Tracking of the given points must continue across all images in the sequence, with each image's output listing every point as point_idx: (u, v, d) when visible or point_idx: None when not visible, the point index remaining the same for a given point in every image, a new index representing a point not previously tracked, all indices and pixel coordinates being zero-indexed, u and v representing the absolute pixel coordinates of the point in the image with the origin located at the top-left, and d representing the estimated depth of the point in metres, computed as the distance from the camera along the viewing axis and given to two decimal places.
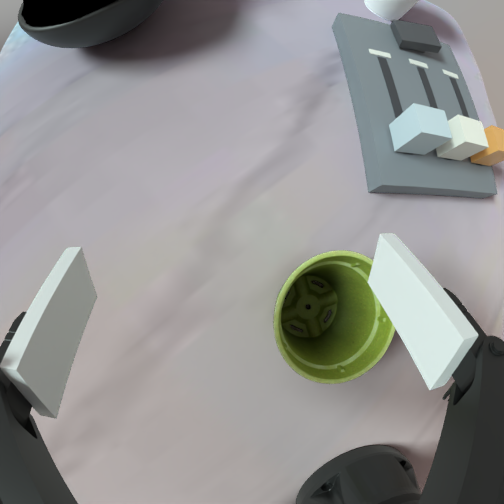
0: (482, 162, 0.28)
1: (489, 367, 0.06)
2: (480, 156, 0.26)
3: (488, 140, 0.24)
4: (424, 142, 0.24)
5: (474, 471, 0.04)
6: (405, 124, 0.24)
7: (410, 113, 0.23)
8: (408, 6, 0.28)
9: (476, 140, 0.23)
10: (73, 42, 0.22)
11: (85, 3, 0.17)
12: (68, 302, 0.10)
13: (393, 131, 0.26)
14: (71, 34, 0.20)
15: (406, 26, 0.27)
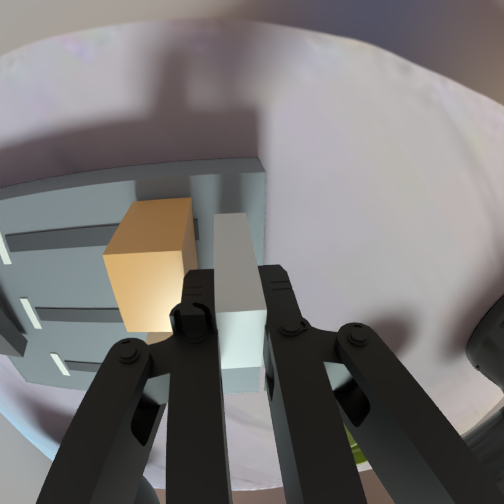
0: (194, 247, 0.15)
1: (285, 356, 0.07)
2: None
3: None
4: None
5: (313, 485, 0.04)
6: None
7: None
8: None
9: None
10: (156, 495, 0.37)
11: None
12: None
13: None
14: None
15: None
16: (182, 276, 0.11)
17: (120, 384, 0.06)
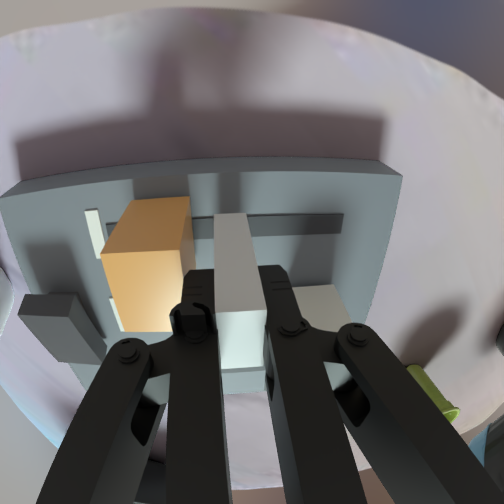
0: (192, 246, 0.15)
1: (285, 356, 0.07)
2: None
3: None
4: None
5: (313, 485, 0.04)
6: None
7: None
8: None
9: None
10: None
11: None
12: None
13: None
14: None
15: (60, 351, 0.17)
16: (180, 276, 0.11)
17: (120, 384, 0.06)
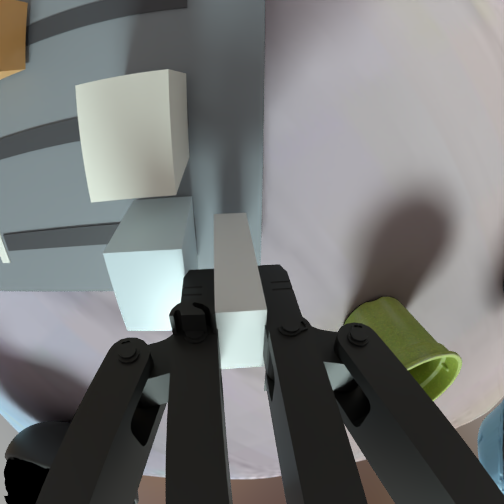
0: (18, 41, 0.08)
1: (285, 356, 0.07)
2: (2, 72, 0.08)
3: None
4: (191, 267, 0.13)
5: (314, 485, 0.04)
6: None
7: None
8: None
9: (157, 136, 0.08)
10: None
11: None
12: None
13: None
14: None
15: None
16: None
17: (120, 384, 0.06)
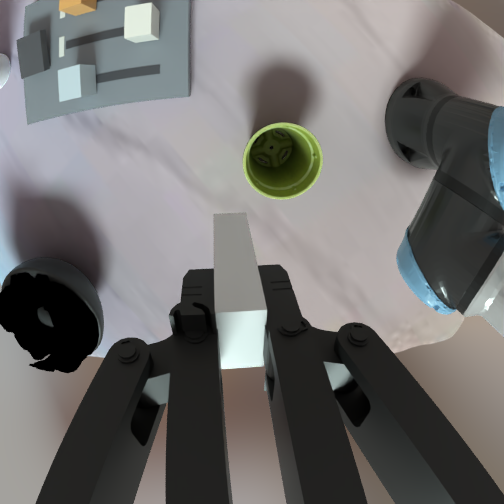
0: None
1: (286, 355, 0.07)
2: (89, 8, 0.23)
3: (73, 8, 0.21)
4: (87, 81, 0.28)
5: (314, 485, 0.04)
6: None
7: None
8: None
9: (147, 18, 0.23)
10: None
11: (85, 315, 0.40)
12: None
13: None
14: (101, 313, 0.43)
15: (26, 65, 0.25)
16: None
17: (120, 384, 0.06)
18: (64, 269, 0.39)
